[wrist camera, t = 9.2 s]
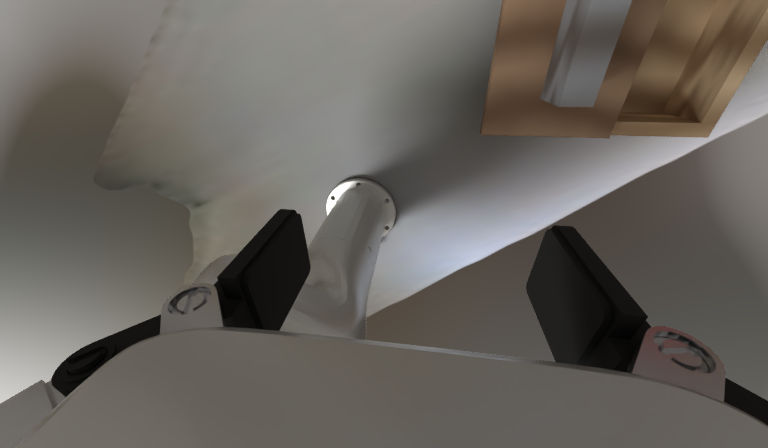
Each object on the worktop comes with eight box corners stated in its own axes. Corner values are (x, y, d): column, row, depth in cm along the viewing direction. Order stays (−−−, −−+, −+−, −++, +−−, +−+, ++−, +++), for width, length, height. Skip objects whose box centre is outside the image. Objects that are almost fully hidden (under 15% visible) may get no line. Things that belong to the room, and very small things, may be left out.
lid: (603, 135, 32) (637, 151, 27) (479, 132, 34) (489, 147, 29) (694, -88, 23) (774, -129, 17) (515, -78, 24) (540, -112, 19)
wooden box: (663, 123, 37) (707, 137, 31) (552, 121, 39) (574, 134, 33) (759, -65, 27) (849, -97, 22) (606, -58, 29) (652, -85, 23)
